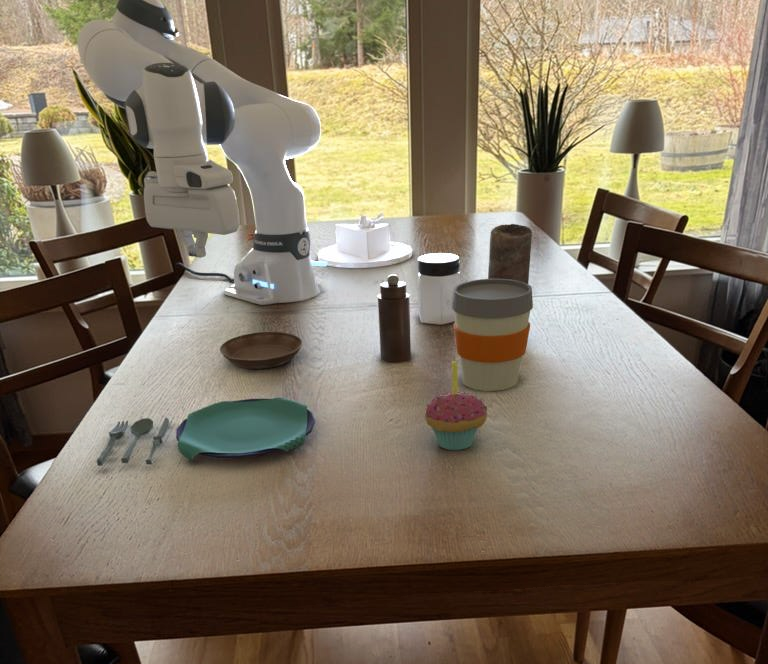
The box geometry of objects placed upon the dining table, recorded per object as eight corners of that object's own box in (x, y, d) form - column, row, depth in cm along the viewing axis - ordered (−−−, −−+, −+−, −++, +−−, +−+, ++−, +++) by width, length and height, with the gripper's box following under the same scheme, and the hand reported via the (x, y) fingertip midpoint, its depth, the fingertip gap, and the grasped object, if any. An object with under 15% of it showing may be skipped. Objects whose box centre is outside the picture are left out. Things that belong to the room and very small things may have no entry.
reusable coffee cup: (483, 401, 122) (485, 305, 114) (436, 378, 131) (435, 287, 123) (545, 382, 127) (551, 289, 119) (495, 361, 136) (498, 274, 129)
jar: (433, 328, 154) (432, 265, 148) (409, 318, 160) (407, 258, 154) (469, 318, 158) (469, 257, 152) (444, 309, 164) (444, 250, 158)
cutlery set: (315, 463, 106) (313, 448, 105) (90, 478, 105) (86, 463, 104) (316, 405, 123) (315, 392, 122) (123, 418, 122) (120, 404, 121)
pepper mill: (374, 359, 140) (370, 276, 133) (391, 350, 144) (388, 269, 136) (400, 364, 137) (397, 280, 130) (416, 355, 141) (414, 272, 134)
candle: (529, 335, 148) (535, 224, 137) (522, 348, 142) (527, 232, 131) (489, 333, 150) (492, 223, 140) (480, 345, 144) (483, 231, 134)
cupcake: (421, 432, 113) (420, 352, 107) (480, 428, 113) (482, 347, 107) (430, 459, 106) (428, 374, 99) (492, 454, 106) (495, 369, 100)
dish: (428, 250, 212) (428, 205, 206) (378, 271, 194) (376, 224, 188) (353, 242, 224) (350, 200, 218) (299, 262, 206) (295, 217, 200)
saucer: (303, 370, 137) (301, 355, 136) (217, 376, 136) (215, 361, 135) (304, 343, 150) (302, 329, 148) (225, 348, 149) (223, 334, 148)
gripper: (128, 173, 137) (144, 254, 144) (212, 178, 127) (224, 265, 134) (156, 168, 141) (170, 247, 148) (239, 172, 131) (250, 257, 138)
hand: (197, 256), depth 141 cm, fingers closed
